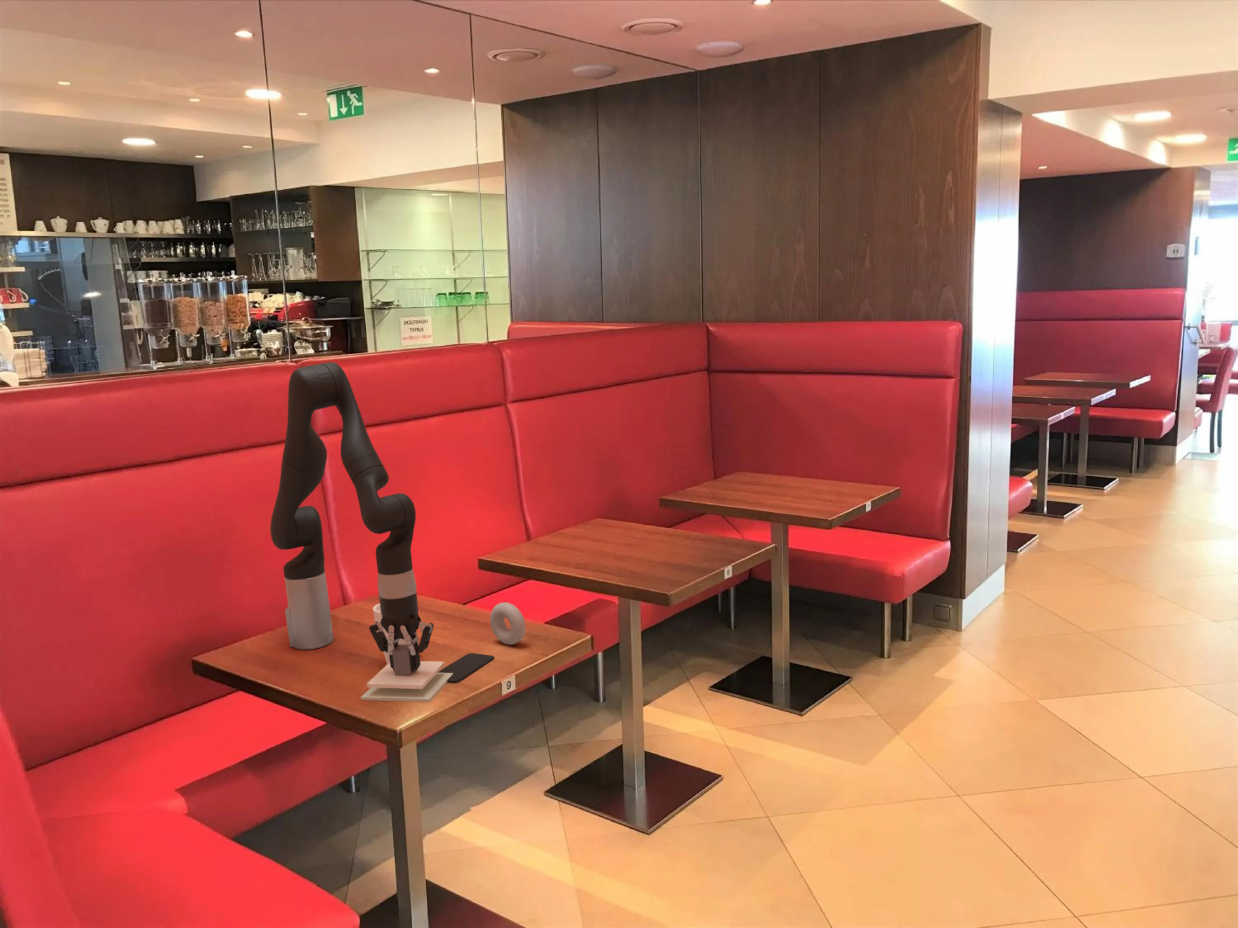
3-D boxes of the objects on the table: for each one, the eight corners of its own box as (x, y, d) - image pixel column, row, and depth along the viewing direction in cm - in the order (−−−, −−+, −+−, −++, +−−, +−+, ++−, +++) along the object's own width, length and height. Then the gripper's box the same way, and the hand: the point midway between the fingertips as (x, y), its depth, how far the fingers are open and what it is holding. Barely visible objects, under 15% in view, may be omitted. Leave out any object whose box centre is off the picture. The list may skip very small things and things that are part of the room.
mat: (360, 699, 197) (360, 697, 197) (388, 674, 210) (388, 671, 210) (429, 701, 194) (429, 698, 194) (453, 675, 207) (453, 672, 207)
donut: (488, 642, 225) (484, 601, 223) (499, 637, 228) (495, 597, 226) (520, 650, 219) (516, 608, 217) (530, 645, 221) (526, 603, 220)
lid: (367, 687, 197) (363, 658, 196) (392, 663, 209) (389, 636, 208) (422, 688, 195) (419, 659, 194) (444, 665, 206) (441, 637, 205)
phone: (496, 655, 215) (456, 681, 202) (496, 659, 216) (457, 685, 202) (468, 652, 219) (428, 677, 206) (469, 655, 219) (428, 681, 206)
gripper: (357, 596, 196) (366, 676, 200) (422, 597, 193) (430, 678, 197) (373, 585, 203) (382, 662, 207) (436, 585, 201) (444, 663, 204)
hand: (406, 669), depth 202 cm, fingers closed on lid, 3 cm apart
